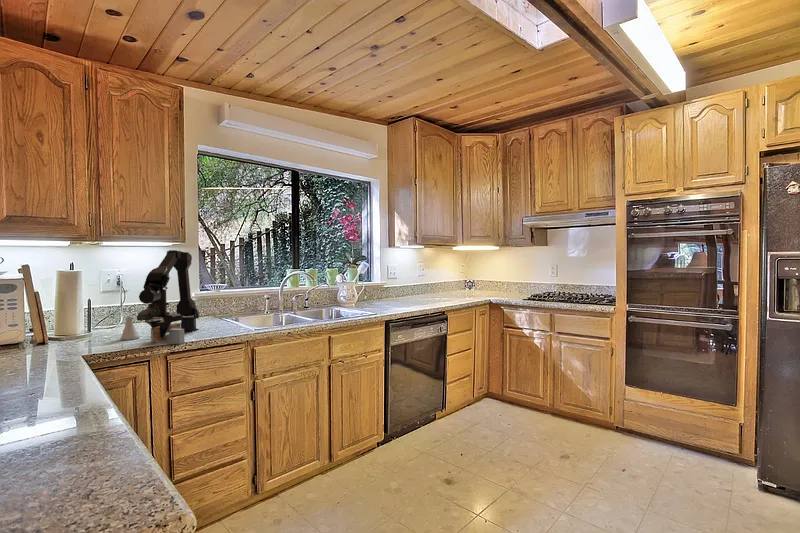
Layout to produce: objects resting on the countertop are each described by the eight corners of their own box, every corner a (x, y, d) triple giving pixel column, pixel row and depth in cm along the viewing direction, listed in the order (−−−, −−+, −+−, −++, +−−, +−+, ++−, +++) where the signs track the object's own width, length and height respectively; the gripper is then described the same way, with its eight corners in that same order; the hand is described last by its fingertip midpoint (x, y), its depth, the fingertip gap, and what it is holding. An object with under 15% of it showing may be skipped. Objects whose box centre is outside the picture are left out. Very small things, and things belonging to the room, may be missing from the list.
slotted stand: (155, 340, 185) (155, 327, 185) (184, 342, 180) (184, 329, 180) (151, 341, 182) (150, 328, 182) (179, 344, 178) (179, 330, 177)
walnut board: (176, 336, 187) (176, 322, 187) (180, 336, 186) (180, 323, 186) (153, 341, 176) (153, 327, 176) (157, 341, 175) (157, 327, 175)
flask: (117, 339, 188) (116, 317, 187) (133, 336, 194) (132, 315, 194) (126, 341, 184) (125, 318, 184) (142, 338, 191) (141, 316, 190)
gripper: (124, 302, 172) (125, 339, 172) (159, 304, 166) (160, 342, 167) (148, 299, 182) (149, 334, 183) (181, 300, 177) (182, 337, 177)
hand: (159, 337), depth 177 cm, fingers closed on walnut board, 2 cm apart
